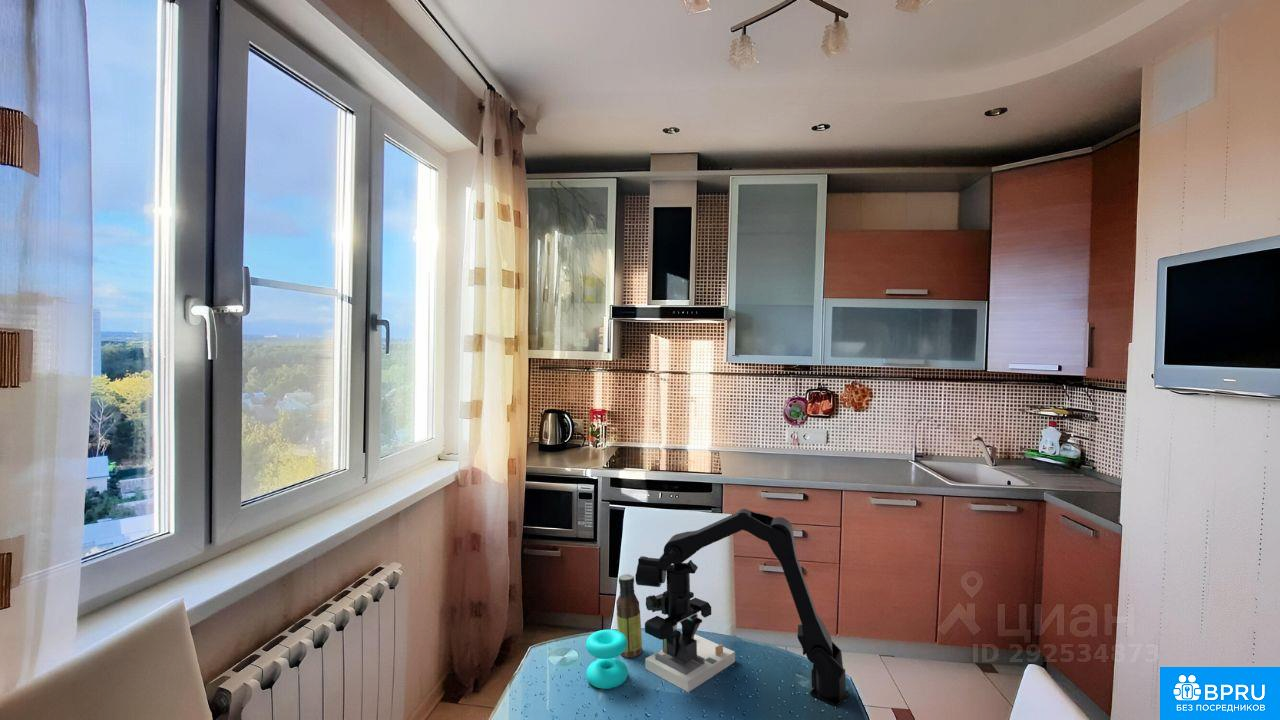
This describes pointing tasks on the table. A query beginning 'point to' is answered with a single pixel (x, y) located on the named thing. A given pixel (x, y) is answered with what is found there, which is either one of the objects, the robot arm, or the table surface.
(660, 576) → the robot arm
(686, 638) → the battery
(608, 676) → the donuts
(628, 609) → the sauce bottle
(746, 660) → the table surface
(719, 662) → the cradle
